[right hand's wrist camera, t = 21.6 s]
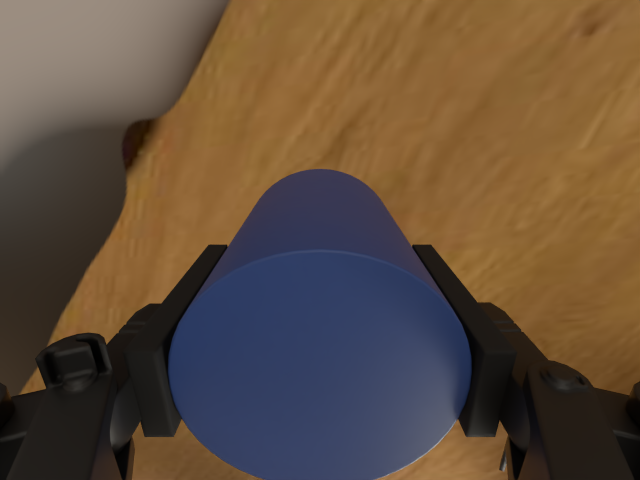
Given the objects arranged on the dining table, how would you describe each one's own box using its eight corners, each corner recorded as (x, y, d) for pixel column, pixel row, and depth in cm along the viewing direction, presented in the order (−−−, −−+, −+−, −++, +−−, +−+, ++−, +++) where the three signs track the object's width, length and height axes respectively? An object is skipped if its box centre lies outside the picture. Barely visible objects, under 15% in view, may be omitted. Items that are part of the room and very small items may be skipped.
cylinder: (252, 158, 16) (161, 228, 7) (406, 180, 17) (518, 272, 7) (243, 295, 19) (170, 476, 10) (376, 310, 19) (429, 499, 10)
